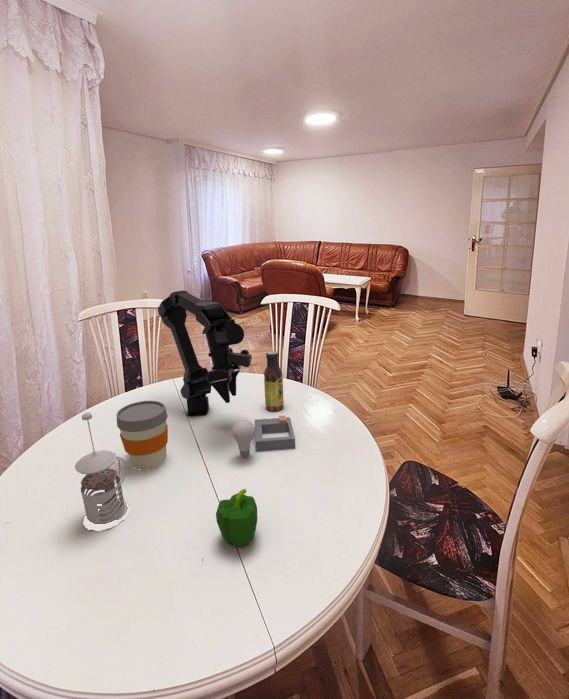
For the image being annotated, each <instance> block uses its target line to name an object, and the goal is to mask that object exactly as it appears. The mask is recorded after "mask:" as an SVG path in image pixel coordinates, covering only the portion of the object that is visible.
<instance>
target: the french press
mask: <svg viewBox="0 0 569 699" xmlns="http://www.w3.org/2000/svg"><path fill="white" fill-rule="evenodd" d="M92 418H93V414H92V413H91V412H90V411H89V412H84V413H83V414H82V415H81V420H82V421H87V425H88V431H89V435H90V436H89V437H90V441H91V444H92V445H91V446H92V452H89V453H87V454H86V455H84V456H82V457H80V459H79V460H77V461H76V463H75V465H74V469H75V471H76V472H78V473H79V474H82V475H85V476H84V477H83V478H82V480H80V485H81V487H80V493H81V497H82V502H83V506H84V510H85V515H86V516H87V519H88V520H89V521H90V522H92V523H94V524H106V523H109V522H112V521H114V520H119V519H121V518H122V517H123V516H124V515H125V514H126V512H127V509H128V507H127V505H126V503H127V502H125V499H124V494H123V488H122V484H123V483H124V480H125V478H126V474H127V466H126V461H125V460H124V458H123V457H120V456H117V454H116V453H115V452H113V451H111V450H105V449H104V450H97V451H95V447H94V441H93V437H92V432H91V427H90V421H89V420H91V419H92ZM120 460H121V461H122V462H123V464H124V475H123V478H122V480H121V478H120V474H121V462H120ZM116 461H117V462H118V467H119V468H118V472H117V470H116V469H114V468H112V466H113V465H114V464H116ZM115 484H116V485H115ZM90 490H91V491H90ZM99 491H100V492H99ZM117 491H118V492H117ZM94 492H96V493H94ZM93 493H94V494H93ZM119 500H120V501H119ZM124 502H125V503H124ZM97 504H102V506H97ZM98 509H100V510H99V511H98Z"/></svg>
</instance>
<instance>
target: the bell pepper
mask: <svg viewBox="0 0 569 699" xmlns="http://www.w3.org/2000/svg"><path fill="white" fill-rule="evenodd" d="M246 493H247V489H246V488H242V489H241V490H239V491H238V493H235V494H233V495H231V497H230V499H222V500H220V501H219V503H218V506H217V510H216V512H215V518H216V524H217V526H218V529H219V531H220V534H221V536H222V539H223V541H225V542H226V543H227V544H229V545H232V544H233V545H234V546H236V547H239V548H241V547H245V546H247V545H249V544H250V543H251V542H252V541H253V540H254V537H255V533H256V529H257V524H258V506H257V503H256V500H255V498H254V497H253V496H250V495H246Z"/></svg>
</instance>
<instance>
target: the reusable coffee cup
mask: <svg viewBox="0 0 569 699" xmlns="http://www.w3.org/2000/svg"><path fill="white" fill-rule="evenodd" d="M167 419H168V413H167V408H166V405H165V404H164V403H163V402H161V401H157V400H143V401H142V400H141V401H136V402H133V403H130V404H127V405H125V406H123V407H121V408H120V409H119V410H118V411H117V413H116V426H117V428H118V429H119V431H120V433H119V436H120V440H121V443H122V446H123V448H124V451H125V453H126V454H127V455H128V458H129V461H130V465H131V467H132V466H133V467H134V468H136V469H135V470H137V469H141V470H140V471H148V470H147V469H150V470H153V469H152V468H154V469H156V468H159V465H160V466H161V465H163V464H164V463H165V462H166V460H167V445H168V442H169V441H168V437H169V429H168V427H169V426H168V423H167ZM165 459H166V460H165ZM164 461H165V462H164ZM163 462H164V463H163ZM162 463H163V464H162ZM133 467H132V468H133ZM155 467H156V468H155ZM134 468H133V469H134Z"/></svg>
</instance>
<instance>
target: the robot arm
mask: <svg viewBox="0 0 569 699" xmlns="http://www.w3.org/2000/svg"><path fill="white" fill-rule="evenodd" d="M157 312H158V315H159V317H160V319H161V321H162V323H163V324H164V325H165V326H166V327H168V328H169V329H170V331H171V334H172V336H173V340H174V342H175V345H176V347H177V352H178V354H179V356H180V360H181V362H182V365H183V368H184V373H183V378H182V381H183V385H182V387H181V389H180V390H179V391H180V396H181V397H182V398H183V399H184V400H186V407H187V414H186V416H187V417H194V416H206V415H208V412H209V410H210V401H209V400H210V399H209V396H207V395H208V394H211V393H212V387H213V389H214V390H215V391H216V392H217V393H218V395H219V396H220V398H222V400H223V401H224V402H225V404H229V403H231V397H230V395H231V396H232V397H235V396H237V377H238V375H239V373H240V372H241V369H242V367H243V368H249V367H251V366H252V364H251V363H252V360H253V357H252V356H253V355H252V354H250V352H249V350H247V349H242V350H241V351H240V352H234V350H233V348H232V347H230V346H234V345H239V344H240V343H242V341H243V340H244V337H245V331H244V329H243V327H242V326H241V325H240V324H239V323H236V320H235V318H233V319H232V317H231V315H230V314H229V313H228V311H227V309H225V307H224V306H223V304H222V303H220V302H217V301H216V302H215V301H204V300H203V299H201V298H199V297H197V296H196V295H193V294H191V293H189V291H187V290H178V291H177V290H176V291H173V292H171V293H170V294H169V296H167V297H166V298H165V299H163V300H162V301H161V302H160V304H159V305H158V307H157ZM187 312H189V313H191V314H193V315H195V321H197V322H198V323H199V324H200V325H201V326H203V327H204V329H203V330H202V332H201V333H202V335H205V339H206V341H207V345H208V350H209V352H207V354H208V357H209V358H211V362H212V366H211V370H208V368H207V367H202V365H200V364H199V360H198V358H197V355H196V352H195V349H194V346H193V343H192V340H191V338H190V335H189V332H188V329H187V327H186V326H187V325H186V321H187V316H188V315H187Z"/></svg>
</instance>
